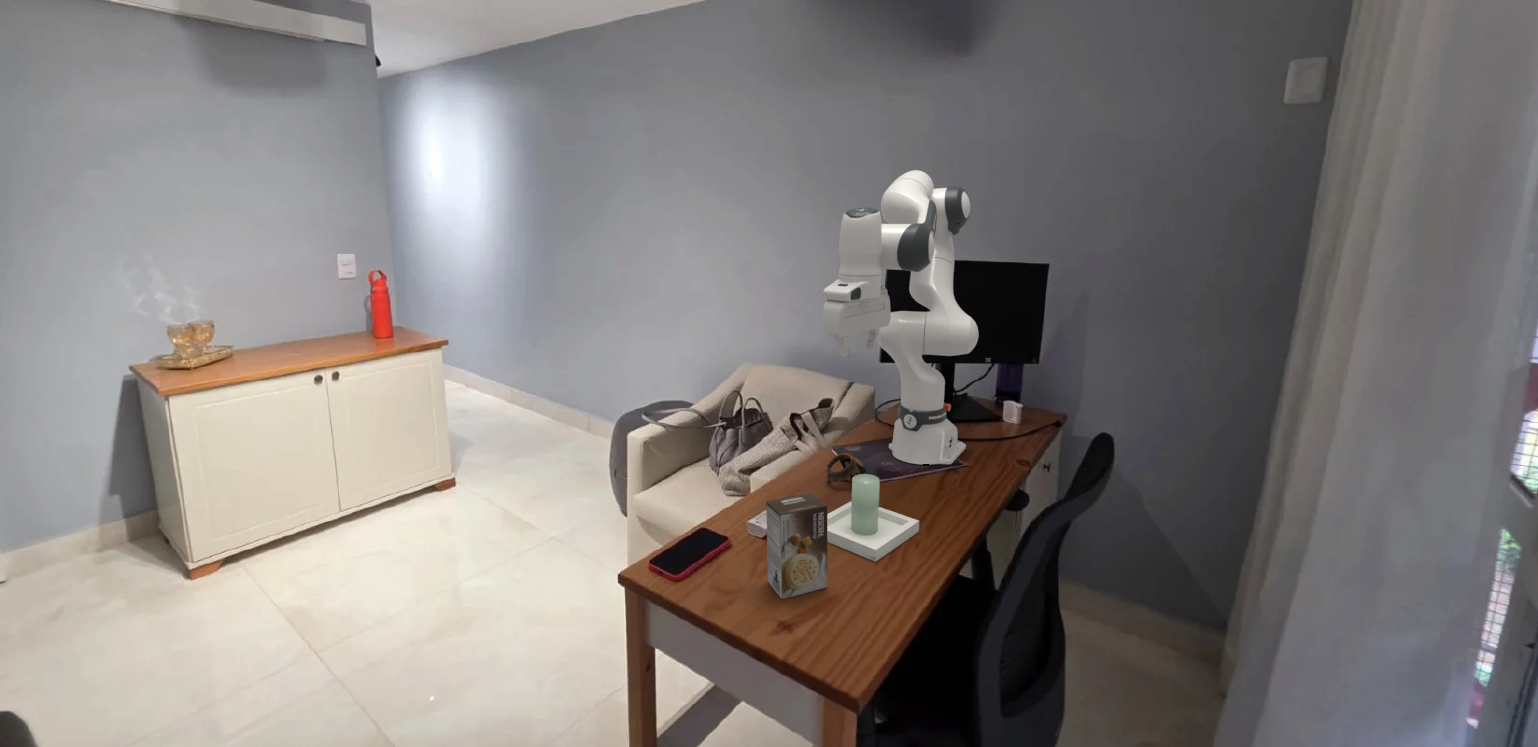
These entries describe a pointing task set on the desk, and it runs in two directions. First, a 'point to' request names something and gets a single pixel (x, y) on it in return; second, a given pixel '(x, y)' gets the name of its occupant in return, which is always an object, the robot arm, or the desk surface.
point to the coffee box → (797, 544)
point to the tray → (870, 546)
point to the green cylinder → (865, 504)
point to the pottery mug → (845, 467)
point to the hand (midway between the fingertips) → (857, 352)
